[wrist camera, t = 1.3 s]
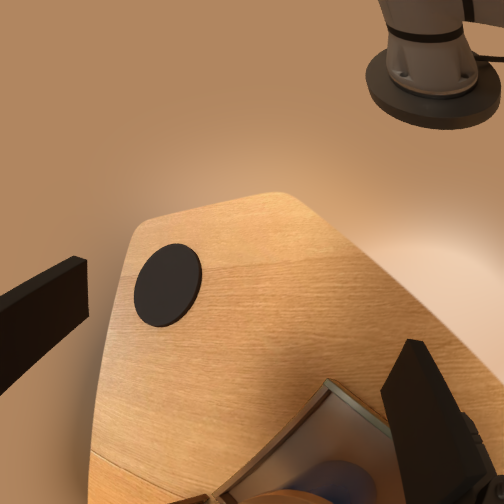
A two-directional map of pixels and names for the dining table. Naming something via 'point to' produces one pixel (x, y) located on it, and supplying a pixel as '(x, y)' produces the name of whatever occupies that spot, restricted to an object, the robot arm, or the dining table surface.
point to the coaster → (167, 285)
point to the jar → (323, 486)
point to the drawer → (323, 448)
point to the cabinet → (193, 500)
